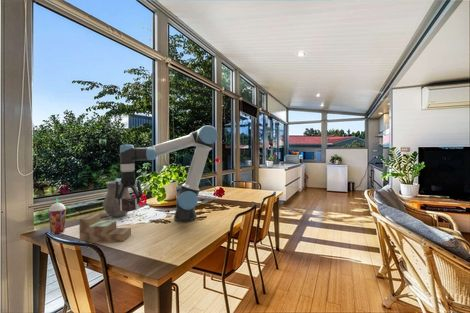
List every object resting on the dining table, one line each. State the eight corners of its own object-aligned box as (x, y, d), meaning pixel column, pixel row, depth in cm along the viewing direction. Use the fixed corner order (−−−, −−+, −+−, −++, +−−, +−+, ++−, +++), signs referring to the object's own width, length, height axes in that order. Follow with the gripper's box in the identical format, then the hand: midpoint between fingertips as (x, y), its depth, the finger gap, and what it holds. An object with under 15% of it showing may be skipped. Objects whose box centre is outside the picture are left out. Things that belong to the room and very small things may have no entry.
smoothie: (70, 230, 140) (69, 197, 139) (55, 235, 132) (54, 200, 132) (60, 229, 143) (59, 196, 142) (45, 233, 135) (44, 199, 134)
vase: (124, 211, 185) (123, 179, 185) (138, 214, 174) (137, 181, 174) (97, 217, 169) (96, 182, 169) (111, 221, 158) (110, 184, 158)
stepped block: (131, 234, 132) (130, 213, 131) (122, 241, 121) (122, 218, 121) (91, 235, 131) (90, 214, 131) (79, 242, 121) (78, 219, 120)
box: (128, 212, 134) (127, 199, 134) (121, 210, 137) (121, 198, 137) (137, 209, 139) (136, 197, 139) (131, 208, 143) (130, 196, 142)
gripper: (148, 169, 142) (149, 207, 142) (112, 171, 141) (114, 208, 142) (143, 170, 134) (145, 210, 135) (106, 172, 134) (108, 212, 134)
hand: (129, 209), depth 138 cm, fingers closed on box, 8 cm apart
